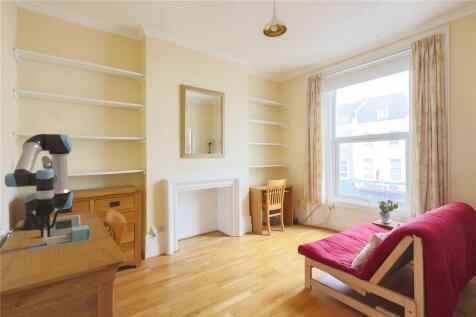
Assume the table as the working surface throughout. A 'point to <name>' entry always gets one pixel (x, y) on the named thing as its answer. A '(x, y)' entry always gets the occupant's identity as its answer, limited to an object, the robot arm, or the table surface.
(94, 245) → the table surface
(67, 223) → the digital clock
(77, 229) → the end cap
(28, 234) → the table surface
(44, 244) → the mat
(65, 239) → the slat
